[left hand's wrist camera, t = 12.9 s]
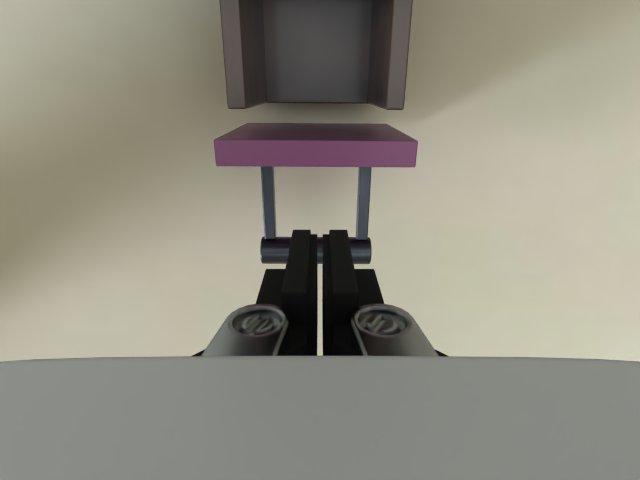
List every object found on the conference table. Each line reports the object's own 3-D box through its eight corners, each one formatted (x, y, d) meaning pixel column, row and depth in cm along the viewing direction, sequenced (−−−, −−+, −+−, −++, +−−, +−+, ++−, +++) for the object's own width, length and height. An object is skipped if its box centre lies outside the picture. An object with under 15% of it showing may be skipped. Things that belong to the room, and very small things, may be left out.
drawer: (380, 226, 28) (404, 281, 20) (253, 225, 28) (226, 281, 20) (404, -126, 21) (457, -261, 13) (231, -127, 21) (175, -263, 13)
